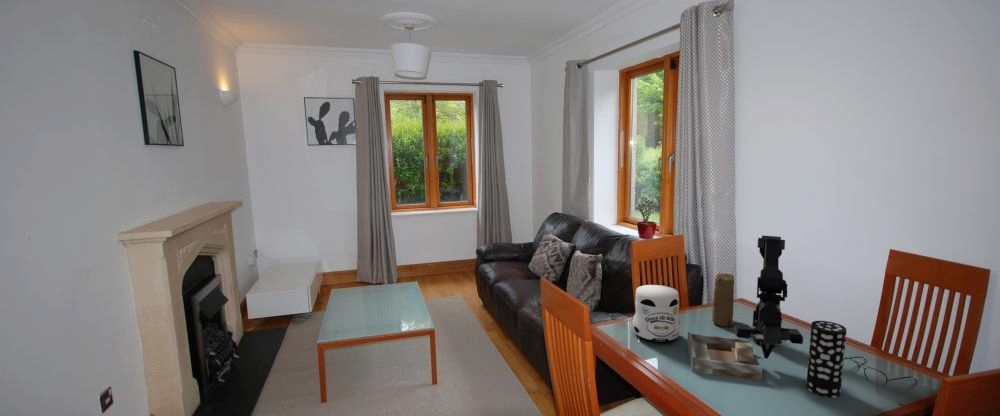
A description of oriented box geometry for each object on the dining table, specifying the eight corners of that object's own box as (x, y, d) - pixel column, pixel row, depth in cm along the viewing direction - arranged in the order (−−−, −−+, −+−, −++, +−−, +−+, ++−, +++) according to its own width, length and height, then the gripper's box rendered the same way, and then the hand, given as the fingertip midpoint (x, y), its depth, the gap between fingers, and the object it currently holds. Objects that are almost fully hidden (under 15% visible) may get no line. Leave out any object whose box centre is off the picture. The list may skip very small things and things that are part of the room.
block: (732, 328, 179) (735, 280, 176) (711, 325, 183) (713, 277, 180) (732, 319, 189) (735, 272, 186) (712, 316, 192) (715, 270, 189)
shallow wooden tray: (748, 351, 160) (749, 338, 159) (761, 380, 141) (762, 365, 140) (687, 345, 166) (688, 332, 165) (692, 371, 147) (692, 357, 146)
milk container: (658, 350, 162) (659, 302, 160) (622, 333, 177) (623, 289, 174) (689, 338, 171) (691, 293, 168) (653, 323, 186) (654, 281, 183)
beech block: (749, 356, 152) (750, 343, 152) (752, 362, 148) (753, 349, 148) (734, 354, 154) (735, 341, 153) (736, 360, 150) (737, 347, 149)
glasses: (835, 368, 148) (838, 354, 148) (864, 364, 153) (867, 350, 153) (885, 390, 135) (888, 374, 134) (915, 385, 140) (918, 370, 140)
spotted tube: (799, 383, 139) (804, 321, 136) (825, 381, 139) (830, 320, 136) (820, 398, 130) (826, 333, 128) (847, 396, 131) (854, 331, 128)
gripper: (741, 319, 142) (738, 365, 144) (810, 325, 136) (806, 374, 138) (735, 306, 152) (732, 350, 155) (799, 312, 147) (795, 357, 149)
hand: (765, 358), depth 149 cm, fingers closed
